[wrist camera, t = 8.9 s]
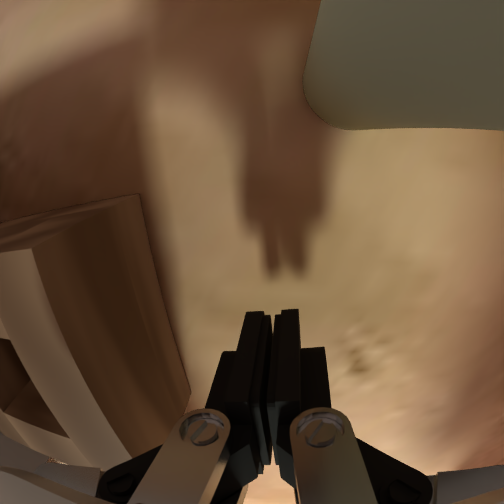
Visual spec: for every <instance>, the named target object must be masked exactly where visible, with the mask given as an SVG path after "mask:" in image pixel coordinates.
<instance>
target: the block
mask: <svg viewBox="0 0 504 504" xmlns="http://www.w3.org/2000/svg"><path fill="white" fill-rule="evenodd" d="M190 395H191V390H190V387H189V384H188V381H187V378H186V375H185V372H184V369H183V366H182V363H181V360H180V357H179V353H178V350H177V347H176V344H175V340H174V337H173V334H172V330H171V327H170V323H169V320H168V316H167V312H166V309H165V305H164V301H163V298H162V294H161V290H160V286H159V282H158V278H157V274H156V270H155V266H154V262H153V258H152V253H151V249H150V244H149V240H148V235H147V231H146V226H145V221H144V216H143V211H142V206H141V201H140V196H139V194H134V195H128V196H123V197H117V198H112V199H106V200H101V201H96V202H91V203H86V204H81V205H76V206H71V207H66V208H62V209H57V210H52V211H48V212H44V213H39V214H35V215H31V216H27V217H23V218H19V219H15V220H11V221H7V222H3V223H0V432H1V433H2V434H3V435H4V436H6V437H8V438H10V439H12V440H14V441H16V442H18V443H20V444H22V445H24V446H26V447H28V448H31V449H33V450H35V451H37V452H39V453H42V454H44V455H46V456H49V457H51V458H53V459H56V460H58V461H61V462H63V463H66V464H69V465H75V466H84V467H96V468H102V470H103V471H107V470H109V469H111V468H112V467H114V466H117V465H119V464H121V463H123V462H126V461H128V460H130V459H132V458H134V457H137V456H139V455H141V454H143V453H145V452H147V451H149V450H151V449H153V448H155V447H158V446H160V445H162V444H164V442H165V440H166V439H167V437H168V435H169V434H170V432H171V430H172V429H173V427H174V425H175V424H176V422H177V421H178V420H179V419H180V417H182V416H183V414H184V411H185V408H186V406H187V403H188V400H189V397H190Z"/></svg>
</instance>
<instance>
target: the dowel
mask: <svg viewBox="0 0 504 504" xmlns="http://www.w3.org/2000/svg"><path fill="white" fill-rule="evenodd" d="M303 90H304V94H305V97H306V99H307V101H308V103H309V105H310V107H311V108H312V110H313V111H314V112H315V113H316V114H317V115H318V116H319V117H320V118H321V119H322V120H324V121H325V122H327V123H329V124H330V125H332V126H335V127H337V128H341V129H345V130H368V129H391V128H464V129H485V130H500V131H504V0H321V3H320V7H319V11H318V16H317V20H316V24H315V28H314V32H313V36H312V41H311V45H310V49H309V53H308V57H307V61H306V65H305V69H304V74H303Z"/></svg>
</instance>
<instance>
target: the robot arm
mask: <svg viewBox="0 0 504 504" xmlns="http://www.w3.org/2000/svg"><path fill="white" fill-rule="evenodd" d="M272 446H273V450H274V457H275V463H276V465H279V468H280V475H281V478H282V479H283V480H285V481H286V482H287V483H288V484H290V485H291V486H292V487H293V488H294V495H295V502H296V504H504V465H495V466H489V467H483V468H475V469H467V470H458V471H446V472H437V474H436V475H432V476H426V475H424V474H423V473H421V472H420V471H418V470H416V469H414V468H412V467H410V466H408V465H406V464H404V463H402V462H400V461H398V460H396V459H394V458H392V457H391V456H389V455H387V454H385V453H383V452H381V451H379V450H378V449H376V448H374V447H372V446H370V445H369V444H367V443H365V442H363V441H362V440H360V439H358V438H356V437H355V435H354V432H353V429H352V426H351V423H350V421H349V420H348V418H347V416H345V415H344V414H343V413H342V412H340V411H338V410H335V409H333V408H331V399H330V389H329V380H328V371H327V362H326V354H325V348H324V347H314V348H301V341H300V324H299V310H298V309H288V310H282V311H281V314H278V315H275V321H274V331H273V332H272V323H271V316H270V315H264V311H253V312H246V315H245V319H244V322H243V326H242V330H241V334H240V338H239V342H238V346H237V350H236V351H224V352H223V353H222V355H221V358H220V361H219V364H218V367H217V370H216V374H215V377H214V380H213V383H212V387H211V390H210V393H209V396H208V399H207V403H206V406H205V409H204V408H203V409H197V410H193V411H191V412H188V413H186V414H185V415H183V416H182V417H180V419H179V420H178V421H177V422H176V424H175V425H174V427H173V429H172V430H171V432H170V434H169V435H168V437H167V439H166V440H165V442H164V444H162V445H160V446H158V447H155V448H153V449H151V450H149V451H147V452H145V453H143V454H141V455H139V456H137V457H134V458H132V459H130V460H128V461H126V462H123V463H121V464H119V465H117V466H114V467H112V468H111V469H109V470H107V471H103V470H102V468H96V467H84V466H75V465H66V464H58V463H44V464H42V465H40V466H39V467H37V468H36V469H35V471H34V473H31V472H28V471H25V470H22V469H17V468H13V467H5V466H0V504H243V502H244V499H245V496H246V493H247V490H248V483H250V482H251V481H253V480H254V479H256V478H257V477H258V474H263V470H264V465H270V464H271V457H272Z"/></svg>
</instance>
